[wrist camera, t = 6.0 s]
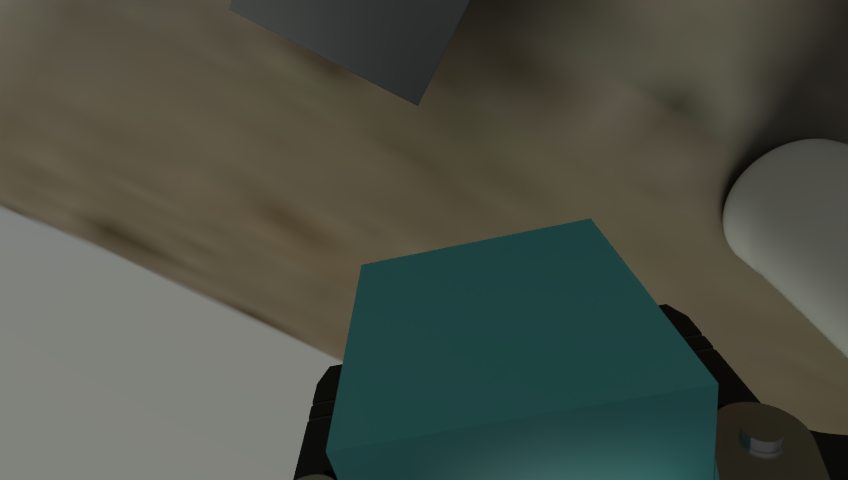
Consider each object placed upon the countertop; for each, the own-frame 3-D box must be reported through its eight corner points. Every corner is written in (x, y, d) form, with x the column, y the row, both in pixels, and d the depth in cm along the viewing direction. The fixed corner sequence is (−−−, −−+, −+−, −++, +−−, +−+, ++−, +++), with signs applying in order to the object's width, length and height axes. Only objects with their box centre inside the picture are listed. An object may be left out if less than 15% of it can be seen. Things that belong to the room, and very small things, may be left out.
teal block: (361, 265, 11) (325, 451, 7) (590, 218, 11) (718, 383, 6) (412, 427, 13) (411, 651, 9) (604, 394, 13) (707, 610, 8)
